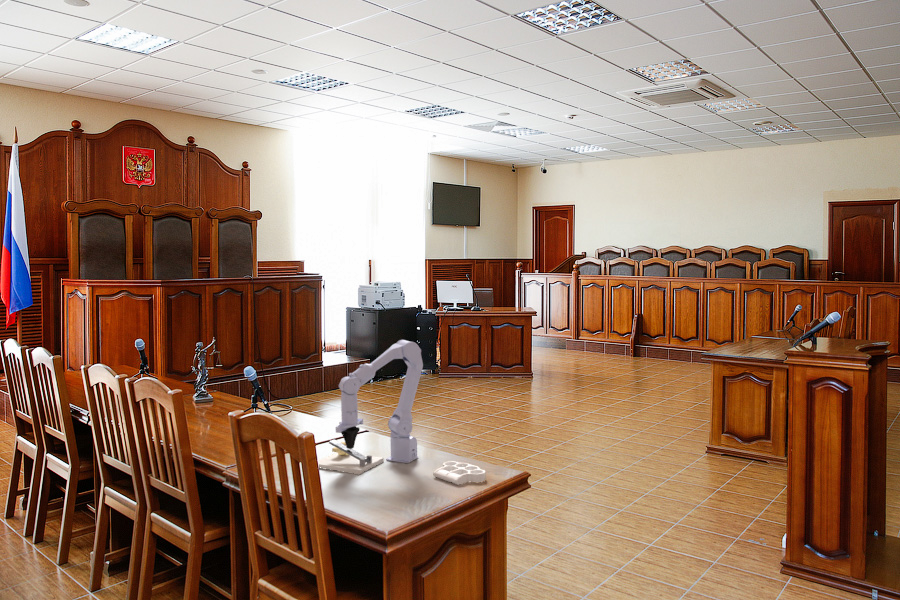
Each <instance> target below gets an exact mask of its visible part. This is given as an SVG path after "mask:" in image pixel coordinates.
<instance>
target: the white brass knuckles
mask: <svg viewBox="0 0 900 600" xmlns="http://www.w3.org/2000/svg"><path fill="white" fill-rule="evenodd" d="M486 473H487V472H486V470H485V469H481V468H480V466H477V465H473V464H471V463H467V462H460V461H459V462H458V461H455V460H454V461H453V460H448V461H444V462H443V463H442V466H441V467H438V468H437V469H436V470H434V471H433V475H432V476H433V477H435V478H436V477H437V479H441V480H443V481H446V482H448V483H451V482H452V484H455V485H457V486H460V485H459V484H461V485H463V484H462V483H464V484H466V483H465V482H469V481H471V482H481V481H484V480H485V479H486V478H487V477H486V476H487V475H486ZM486 480H487V479H486ZM471 482H469V483H471ZM484 482H485V481H484ZM481 483H482V482H481Z"/></svg>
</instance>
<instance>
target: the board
mask: <svg viewBox="0 0 900 600" xmlns="http://www.w3.org/2000/svg"><path fill="white" fill-rule="evenodd" d="M363 455H364V454H363ZM364 456H365V457H369V458H370V460H369V461H368V462H366V463H365V459H360V460H358V459H356V458H354V457H353V456H351V455H346V456H345V455H338V452H333V454H332V453H331V454H330V455H328V456H325V457H324V458H321V459H319V460H317V461H318V462H319V468H320V467H321V468H326V469H331V470H330V471H333V470H338V471H337V472H340V471H344V472H343V473H346V472H348V473H347V474H353V473H354V474H355V475H361V474H363V473H365V472H367V471H369V470H370V468H371V469H372V467H373V468H374V467H377V466H378V465H381V464H383V462H384V459H385V458H384V457H381V456H380V457H379V456H373V455H371V454H370V455H369V454H365V455H364ZM376 465H377V466H376ZM319 468H318V469H319ZM326 469H325V470H326ZM368 469H369V470H368ZM366 470H367V471H366ZM364 471H365V472H364Z"/></svg>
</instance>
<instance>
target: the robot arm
mask: <svg viewBox="0 0 900 600" xmlns="http://www.w3.org/2000/svg"><path fill="white" fill-rule="evenodd" d="M399 359H400V360H403V361H404V363H405V364H406V366H407V370H406V374H405V377H404V381H403V385H402V389H401V392H400V396H399V400H398V403H397V407H396V408H395V409H394V410H393V412H392V414H391V417H390V418H389V419H388V423H387V426H388V429H389V430H390V434H389V435H390V437H389V438H390V456H389V457H387V458H386V459H385V460H386V461H389V462H398V463H404V464H409V463H411V462H413V461H414V460H416V459H418V458H419V456H418V440H417V437H415V436H412V435H411V433H412V431H413V419H414V418H413V415H412V409H413V405H414V403H415V399H416V398H415V397H416V394H417V392H418V391H417V390H418V387H419V383H420V378H421V375H422V373H423V372H422V371H423V367H424V363H423V358H422V349H421V348H420V347H419V345H418V343H416V342H414V341H409V340H406V339H399V340H398V341H397V342H396V343H393V344H392V345H390V347H388V348H387V349H386V350H385V351H383V353H381V354H380V355H379V356H378V357H376V359H374V360H373V361H371V362H370V363H364V364H360V365H359V366H358V367H357V369H356V370H354V371H353V372H349V373H348V376H344V377H342V378H341V379H340V382H339V384H338V388H339V390H340V393H341V399H340V401H341V402H340V403H341V404H340V406H341V407H340V408H341V409H340V410H341V421H339V423H338V424H339V425H337V426H336V427H335V433H338V434H341V435H342V437H343V440H344V442H345V443H346V447H347V448H348V449H354V448H355V442H356V440H357V439H356V438H357V437H358V434H359V432H360V429H361V428H360V427H358V426H359V425H364V418H360V417H359V415H358V413H359V412H358V410H359V409H358V393H359V390H360V387H362V386H364V385H365V384H366V383H368V382H369V381H370V380H372V379H373V378H374V377H375V376H376V372H377V371H378V370H380V369H381V368H383V367H384V366H386V365H387V364H388V363H390V362H392V361H393V360H399Z"/></svg>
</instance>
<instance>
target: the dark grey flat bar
mask: <svg viewBox="0 0 900 600" xmlns="http://www.w3.org/2000/svg"><path fill="white" fill-rule="evenodd" d="M328 444H330V446H331V445H332V446H333V447H337V448H338V449H340V450H342V451H344V452H345V453H347V454H349V455H351V456H353V457H354V458H356V459H358V460H360V459H365V463H366V462H368V461H369V460H370V458H369V457H365V456H364V454H362V453H360V452H358V451H356V450H354V448H352V449H348V448H347V447H346V445H344V444H342V443H341V442H340V441H338V440H336V439H331V440H329V441H328Z"/></svg>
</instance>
